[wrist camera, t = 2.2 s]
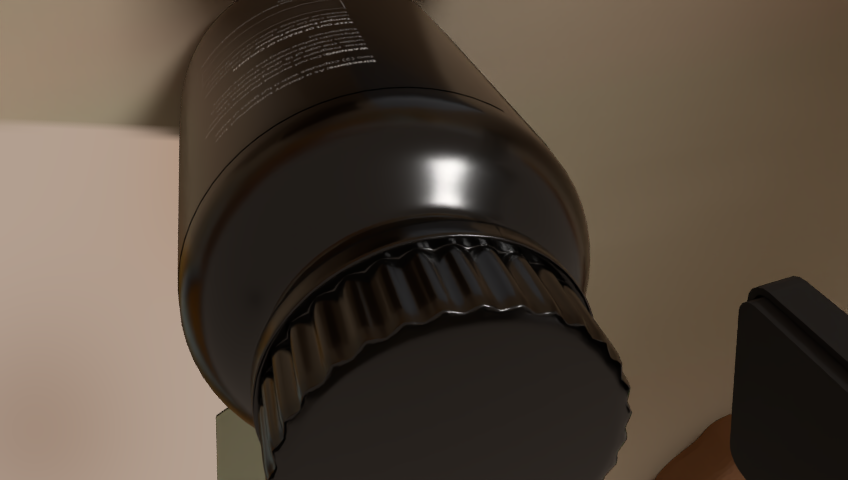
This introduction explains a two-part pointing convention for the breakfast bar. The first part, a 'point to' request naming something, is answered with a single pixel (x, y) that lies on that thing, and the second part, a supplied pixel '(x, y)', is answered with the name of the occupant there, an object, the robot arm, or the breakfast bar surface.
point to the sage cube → (237, 449)
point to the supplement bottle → (385, 256)
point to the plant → (705, 457)
